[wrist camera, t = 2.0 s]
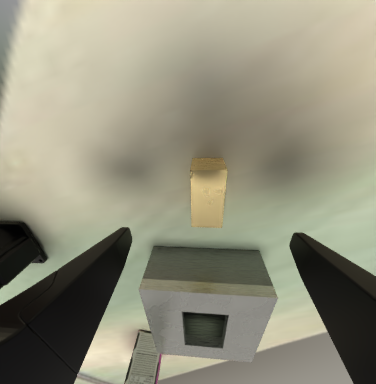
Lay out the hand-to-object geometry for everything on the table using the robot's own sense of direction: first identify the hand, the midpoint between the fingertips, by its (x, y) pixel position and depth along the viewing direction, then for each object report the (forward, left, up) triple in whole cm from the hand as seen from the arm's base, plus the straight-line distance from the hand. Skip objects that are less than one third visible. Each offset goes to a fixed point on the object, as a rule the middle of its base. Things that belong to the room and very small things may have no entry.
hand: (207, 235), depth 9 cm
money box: (0, -15, -6) cm, 16 cm away
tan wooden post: (0, 0, -7) cm, 7 cm away
